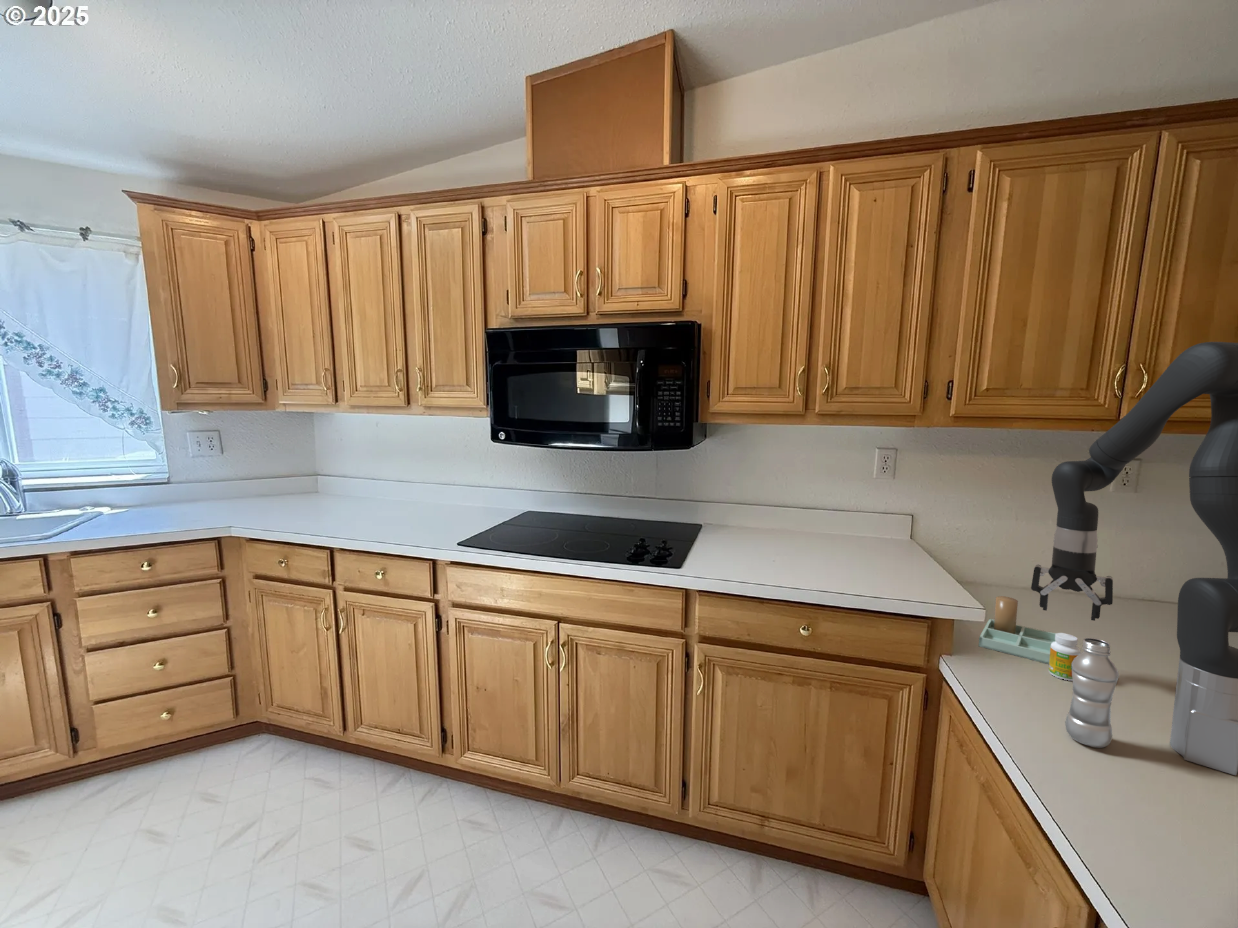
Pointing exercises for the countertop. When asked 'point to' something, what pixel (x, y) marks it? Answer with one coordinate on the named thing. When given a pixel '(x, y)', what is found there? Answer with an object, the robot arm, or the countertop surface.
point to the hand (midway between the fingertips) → (1068, 614)
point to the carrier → (1018, 642)
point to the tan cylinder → (1005, 614)
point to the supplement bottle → (1063, 655)
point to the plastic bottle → (1092, 695)
